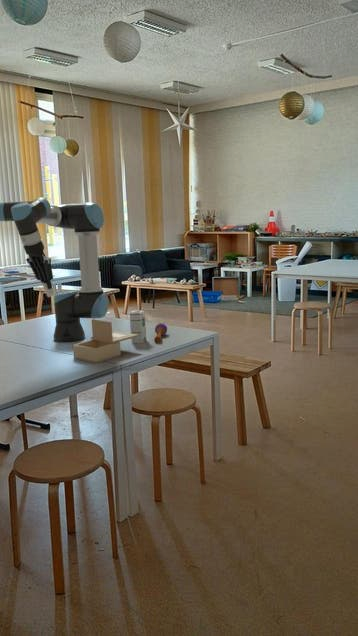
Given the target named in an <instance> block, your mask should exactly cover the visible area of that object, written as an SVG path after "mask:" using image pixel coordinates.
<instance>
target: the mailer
mask: <svg viewBox="0 0 358 636" xmlns="http://www.w3.org/2000/svg"><path fill="white" fill-rule="evenodd" d="M72 352H73V355H72V356H73V360H79V361H83V362H88V363H93V364H98V363H102V362H105V361H109V360H111V359H114V358H117V357H118V358H119V357H120V356H121V357H122V353H121V352H122V351H121V341H120V342H116V343H109V342H103V341H97V340H92V339H90V340H86V341H82V342H79V343H75V344H73V345H72Z"/></svg>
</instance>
